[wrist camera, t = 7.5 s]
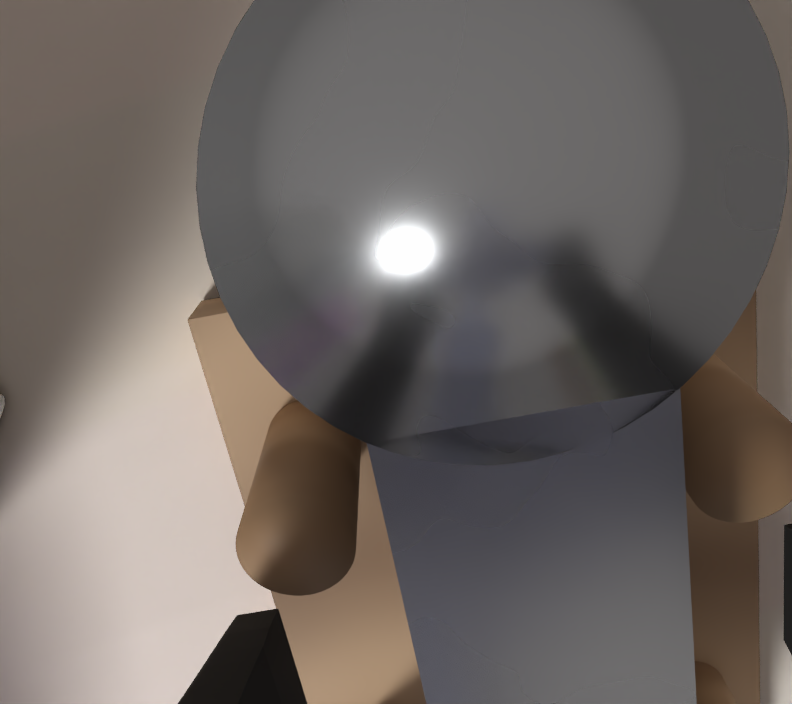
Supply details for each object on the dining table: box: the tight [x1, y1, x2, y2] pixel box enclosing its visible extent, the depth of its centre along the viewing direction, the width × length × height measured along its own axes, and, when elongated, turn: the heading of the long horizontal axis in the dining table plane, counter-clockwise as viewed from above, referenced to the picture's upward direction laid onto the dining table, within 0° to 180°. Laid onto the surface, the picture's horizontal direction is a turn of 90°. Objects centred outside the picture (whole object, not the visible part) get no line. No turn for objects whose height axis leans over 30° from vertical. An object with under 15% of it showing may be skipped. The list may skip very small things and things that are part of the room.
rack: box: [188, 290, 792, 704], centre depth 13 cm, size 12×9×4 cm
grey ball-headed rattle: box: [196, 0, 789, 704], centre depth 11 cm, size 18×5×5 cm, turn 11°
